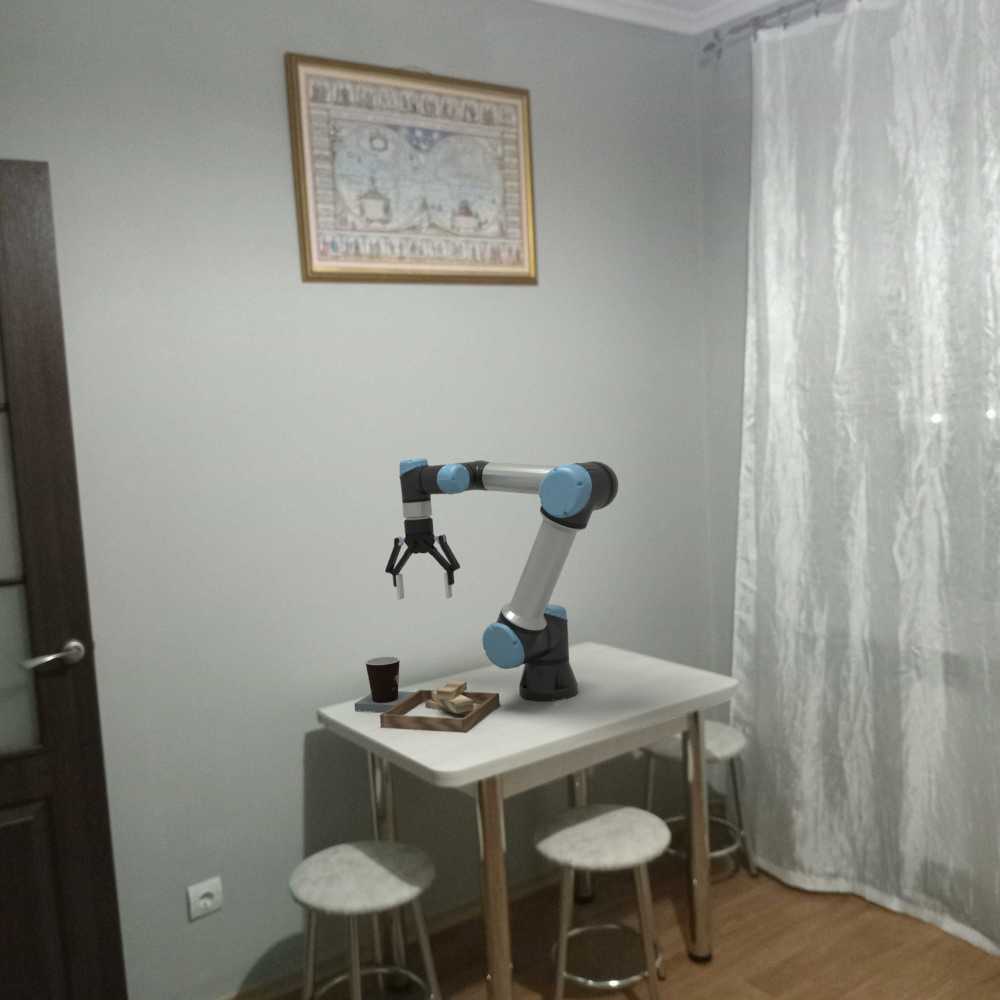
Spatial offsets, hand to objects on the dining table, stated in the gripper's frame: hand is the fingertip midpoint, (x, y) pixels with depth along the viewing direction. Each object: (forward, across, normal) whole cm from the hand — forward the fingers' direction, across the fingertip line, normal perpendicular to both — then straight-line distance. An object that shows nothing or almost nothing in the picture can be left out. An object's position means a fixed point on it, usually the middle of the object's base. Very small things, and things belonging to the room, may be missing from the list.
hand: (425, 598), depth 259 cm
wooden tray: (+26, -9, +18) cm, 33 cm away
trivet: (+25, +8, +11) cm, 29 cm away
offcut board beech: (+22, -10, +13) cm, 28 cm away
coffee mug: (+24, +8, +11) cm, 27 cm away
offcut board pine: (+24, -11, +14) cm, 30 cm away
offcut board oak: (+27, -11, +13) cm, 32 cm away
